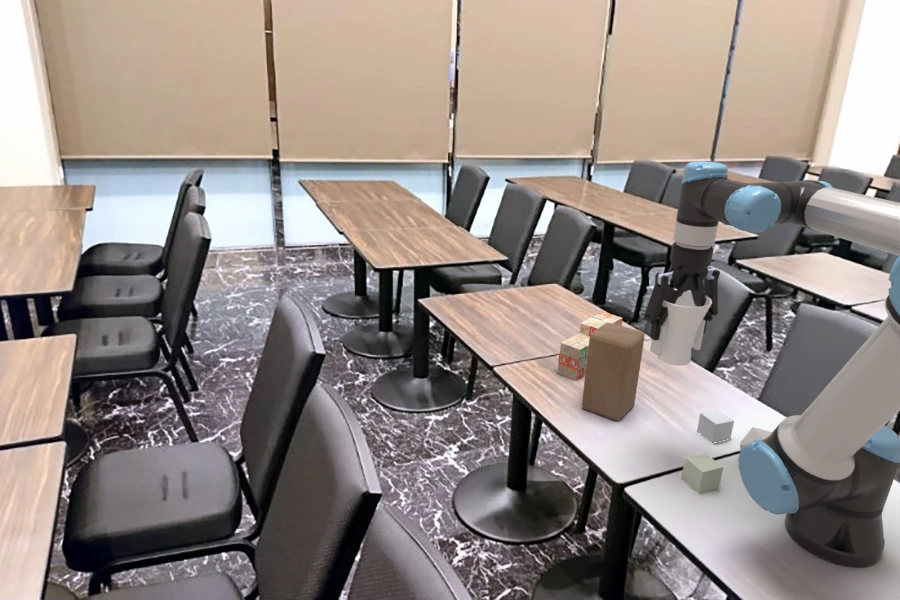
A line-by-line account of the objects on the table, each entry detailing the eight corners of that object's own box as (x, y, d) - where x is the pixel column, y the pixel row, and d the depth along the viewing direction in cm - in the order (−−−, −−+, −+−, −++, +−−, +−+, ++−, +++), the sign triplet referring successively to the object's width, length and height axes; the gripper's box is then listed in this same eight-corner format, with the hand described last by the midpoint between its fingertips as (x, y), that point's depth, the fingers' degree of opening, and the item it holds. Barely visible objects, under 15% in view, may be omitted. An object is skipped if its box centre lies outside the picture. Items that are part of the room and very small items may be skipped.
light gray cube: (730, 440, 141) (734, 420, 140) (712, 443, 140) (716, 424, 138) (714, 428, 146) (717, 409, 144) (696, 432, 144) (700, 412, 142)
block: (618, 423, 146) (630, 345, 139) (579, 409, 152) (588, 333, 145) (635, 406, 154) (646, 331, 147) (597, 393, 159) (606, 320, 152)
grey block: (760, 485, 127) (797, 453, 125) (726, 452, 130) (761, 420, 128) (761, 477, 135) (796, 447, 132) (729, 446, 138) (762, 416, 135)
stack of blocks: (576, 381, 165) (581, 338, 161) (556, 373, 169) (560, 331, 165) (617, 357, 180) (623, 317, 175) (598, 350, 184) (603, 310, 179)
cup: (671, 374, 123) (682, 310, 119) (636, 352, 132) (645, 292, 128) (712, 365, 127) (724, 303, 123) (675, 345, 136) (685, 286, 132)
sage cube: (718, 488, 125) (723, 467, 123) (698, 493, 123) (702, 472, 121) (701, 473, 129) (705, 453, 128) (681, 478, 128) (685, 457, 126)
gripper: (723, 235, 128) (704, 336, 136) (634, 242, 121) (619, 349, 129) (751, 245, 122) (730, 351, 130) (659, 253, 114) (642, 365, 122)
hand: (675, 350), depth 129 cm, fingers closed on cup, 9 cm apart
